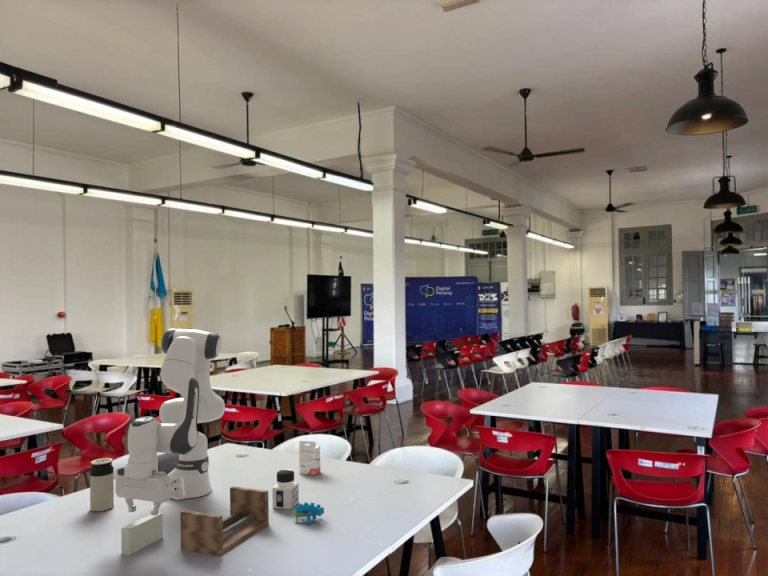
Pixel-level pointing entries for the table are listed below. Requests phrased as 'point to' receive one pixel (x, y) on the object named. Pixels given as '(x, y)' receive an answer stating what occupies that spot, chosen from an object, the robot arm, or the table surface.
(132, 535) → the door panel
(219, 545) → the cabinet base
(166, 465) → the bluetooth speaker
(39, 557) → the table surface
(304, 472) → the ink cartridge box
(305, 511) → the gear
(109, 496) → the travel mug
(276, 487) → the container
